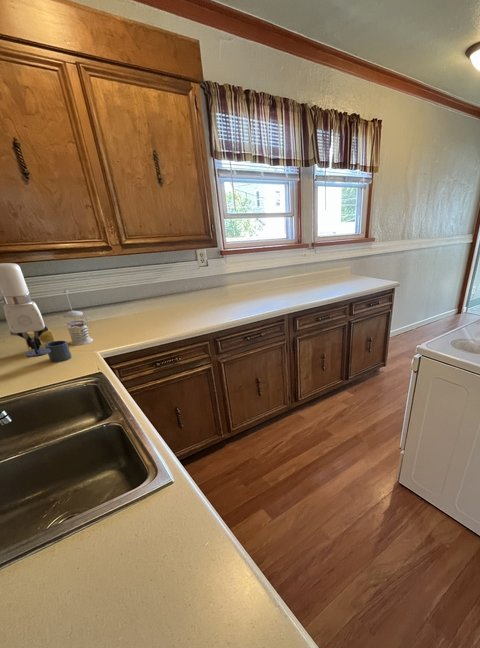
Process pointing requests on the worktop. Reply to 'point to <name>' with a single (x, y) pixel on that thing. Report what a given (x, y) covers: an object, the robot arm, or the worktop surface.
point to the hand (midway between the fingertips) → (36, 347)
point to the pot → (58, 351)
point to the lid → (36, 350)
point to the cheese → (42, 338)
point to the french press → (77, 328)
